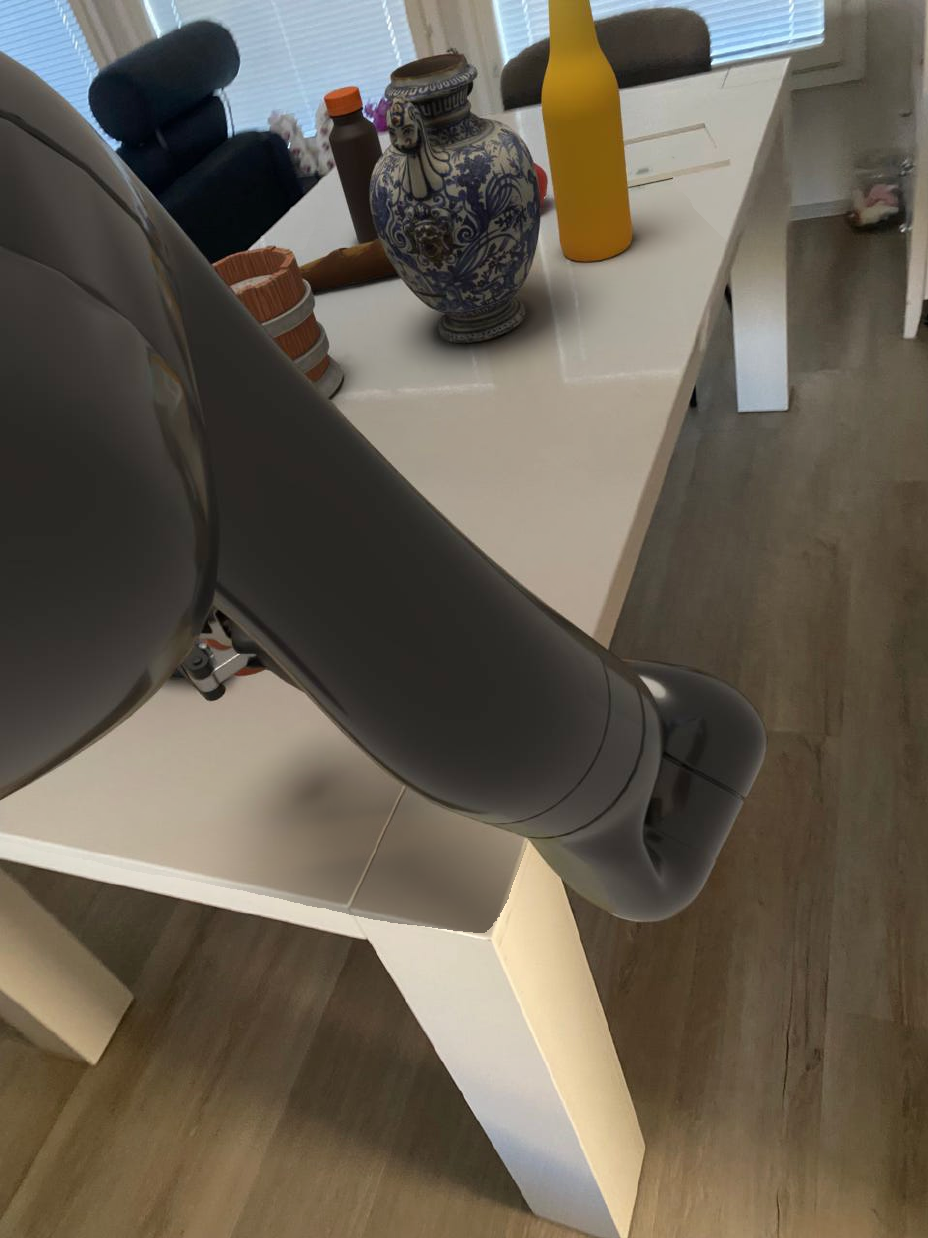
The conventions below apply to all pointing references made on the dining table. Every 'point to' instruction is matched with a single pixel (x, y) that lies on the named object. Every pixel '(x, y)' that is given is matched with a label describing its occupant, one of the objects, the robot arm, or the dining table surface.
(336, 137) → the vinegar
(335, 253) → the bread
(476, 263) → the decorative vase
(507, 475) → the dining table surface
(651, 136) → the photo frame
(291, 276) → the mug
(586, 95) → the beer bottle
